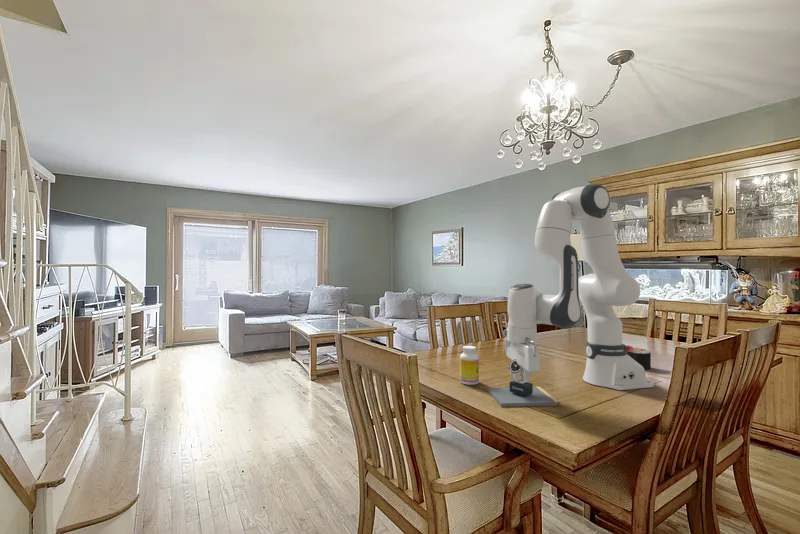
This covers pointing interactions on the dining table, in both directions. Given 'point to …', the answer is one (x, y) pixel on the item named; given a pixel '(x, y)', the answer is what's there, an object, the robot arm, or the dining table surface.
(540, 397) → the grey flat slab
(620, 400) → the dining table surface
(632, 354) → the sushi
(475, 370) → the supplement bottle
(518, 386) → the watch
